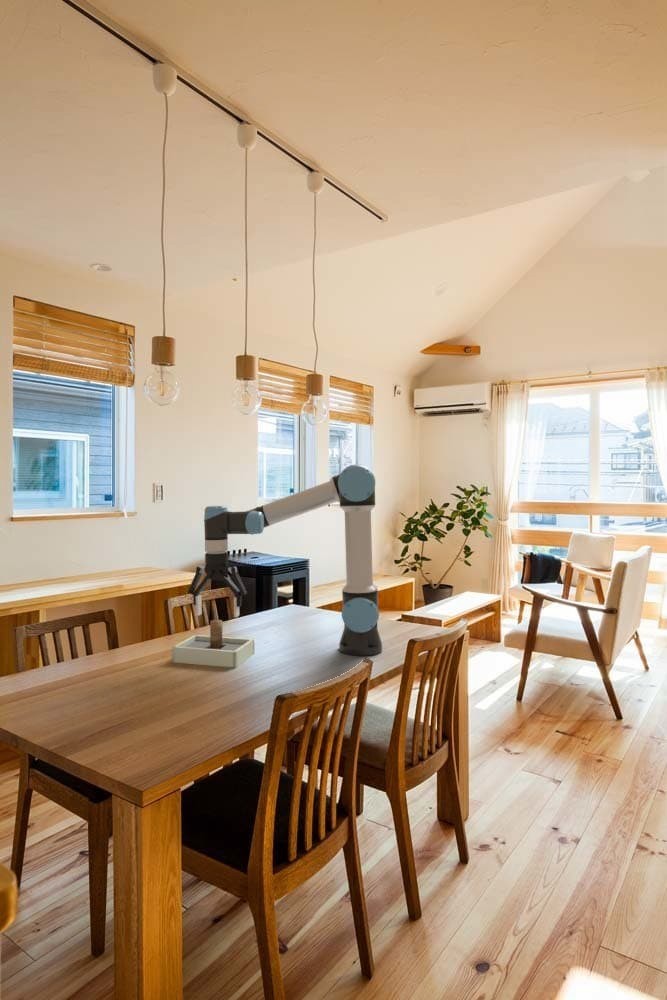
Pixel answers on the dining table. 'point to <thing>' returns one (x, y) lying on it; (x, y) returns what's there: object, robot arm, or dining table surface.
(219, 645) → the peg
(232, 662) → the box
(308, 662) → the dining table surface
